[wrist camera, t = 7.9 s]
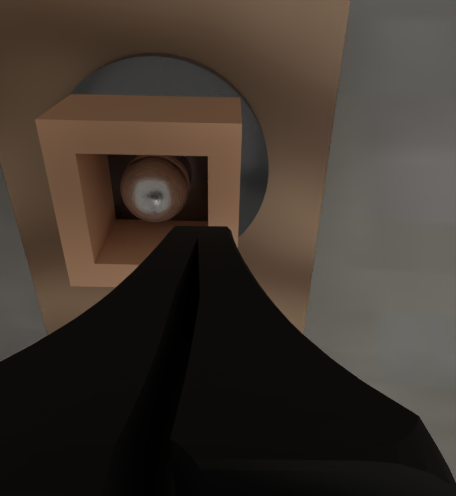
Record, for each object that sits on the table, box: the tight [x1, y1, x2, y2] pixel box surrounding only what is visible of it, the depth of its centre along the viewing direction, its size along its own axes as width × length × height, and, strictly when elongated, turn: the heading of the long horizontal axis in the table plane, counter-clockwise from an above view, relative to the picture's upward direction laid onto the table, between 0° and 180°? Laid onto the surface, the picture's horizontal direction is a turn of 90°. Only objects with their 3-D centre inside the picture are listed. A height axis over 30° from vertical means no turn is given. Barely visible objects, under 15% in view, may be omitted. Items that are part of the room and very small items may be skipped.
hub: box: [70, 53, 269, 237], centre depth 15 cm, size 8×8×3 cm
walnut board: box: [0, 0, 350, 335], centre depth 19 cm, size 20×12×2 cm, turn 179°
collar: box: [35, 94, 242, 287], centre depth 14 cm, size 5×5×3 cm
